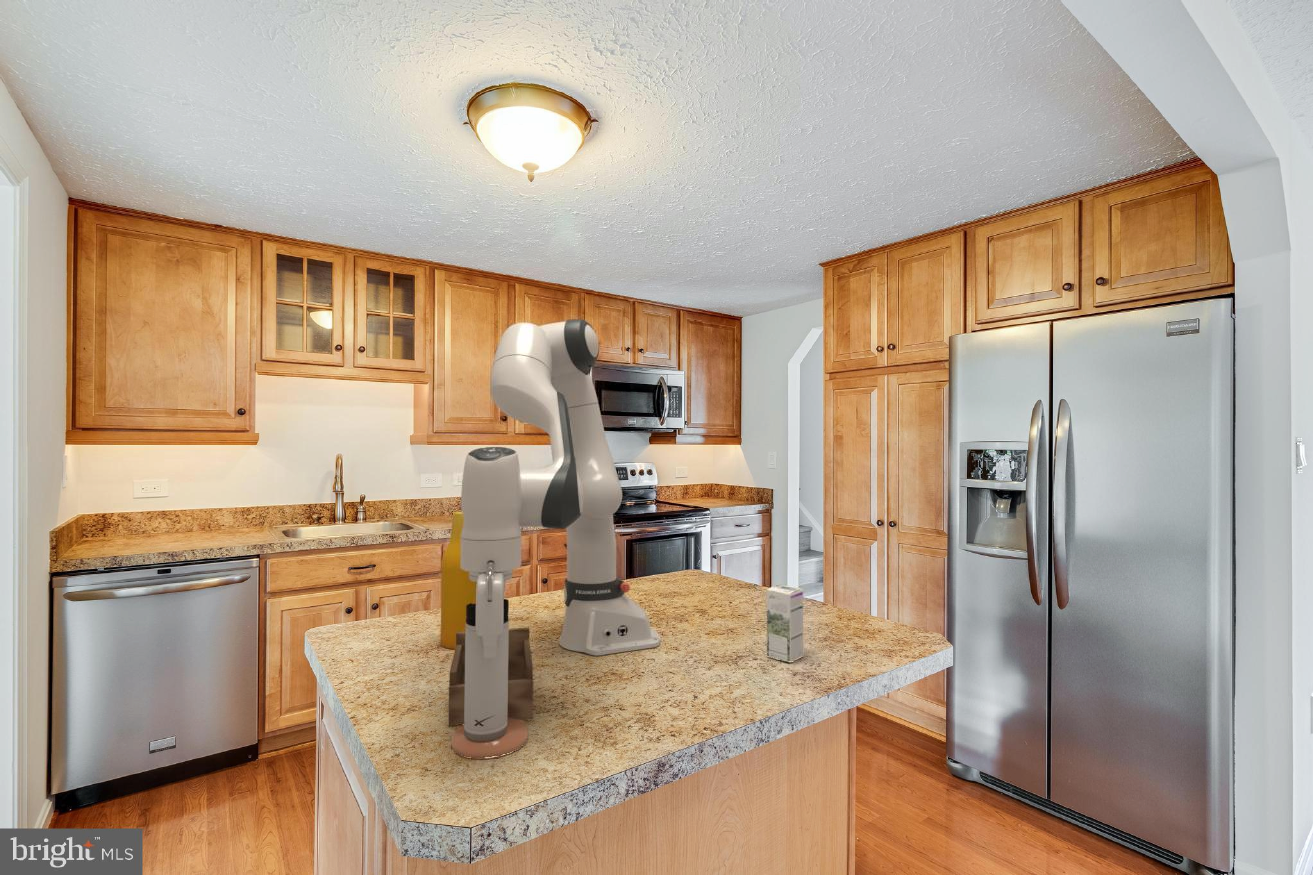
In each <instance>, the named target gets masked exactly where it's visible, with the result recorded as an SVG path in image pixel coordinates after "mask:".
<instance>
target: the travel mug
mask: <svg viewBox="0 0 1313 875" xmlns="http://www.w3.org/2000/svg"><path fill="white" fill-rule="evenodd" d="M487 601H488V600H487ZM491 601H492V600H491ZM491 601H488V602H491ZM509 603H510V601H509V599H507V598H504V620H503V632H502V634H500V635H498V637H497V655H496V657H494V658H484V646H483V638H482V636H478V635H477V634H476V603H475V604H472V603H470V604H468V605H466V616H467V617H466V628H465V700H464V736H465V737H466V738H467V739H469V740H471V741H475V742H488V741H493V740H496V739H498V738H500V737H502V736H503V735H504V734H505V733H506V732H507V715H508V641H509V629H510V628H509V626H510V625H509V623H510V622H509V621H510V620H509V619H510V618H509V610H510V609H509V607H510V606H509V605H510V604H509Z"/></svg>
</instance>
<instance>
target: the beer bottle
mask: <svg viewBox="0 0 1313 875" xmlns="http://www.w3.org/2000/svg"><path fill="white" fill-rule="evenodd" d="M463 524H464V518H463V513H462V511H455V512H453V514H452V523H451V529H450V538H449V542H448V545H447V546H446V549H445V551H444V553H443V555H442V558H441V567H440V572H441V574H440V576H441V577H440V578H441V582H440V584H441V585H440V588H441V589H440V594H441V595H440V634H439V635H440V637H439V638H440V645H441V646H442V647H444V648H446V649H449V650H455V647H456V632H465V628H466V617H467V616H466V605H468V604H470V603H472V604H475V603H476V585H477V582H474V581H471V580H470V579H469V572H468V571H464V570H462V569H461V532H462V529H463Z"/></svg>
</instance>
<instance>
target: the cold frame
mask: <svg viewBox="0 0 1313 875" xmlns="http://www.w3.org/2000/svg"><path fill="white" fill-rule="evenodd" d="M532 657H533V656H532V650H531V643H530V627H517V628H516V627H515V628H509V641H508V715H507V717H510V718H515V719H518V720H524V719H533V717H534V712H533V711H534V678H533V676H534V672H533V671H534V667H533V666H534V664H533V658H532ZM448 677H449V680H448V681H449V682H448V727H452V725H455V726H460V725H459V724H464V700H465V632H456V647H455V649H454V652H453V657H452V660H451V665H450V670H449V676H448Z"/></svg>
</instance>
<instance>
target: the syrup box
mask: <svg viewBox="0 0 1313 875" xmlns="http://www.w3.org/2000/svg"><path fill="white" fill-rule="evenodd" d="M767 656H771V657H774V658H778V659H780V660H785V661H793V660H795V659H797V658H799V657H801V656H803V657H804V589H803V588H799V587H793V586H789V585H783V584H782V585H781V584H779V585H774V586H771V587H769V588H766V657H767Z"/></svg>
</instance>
